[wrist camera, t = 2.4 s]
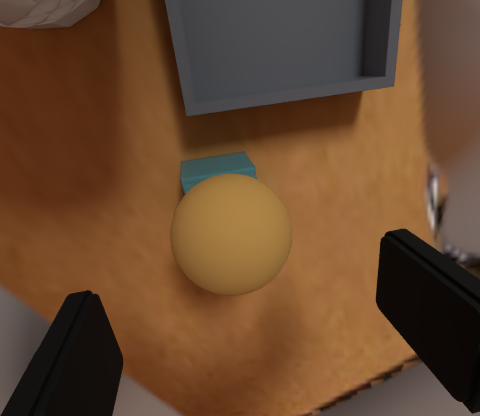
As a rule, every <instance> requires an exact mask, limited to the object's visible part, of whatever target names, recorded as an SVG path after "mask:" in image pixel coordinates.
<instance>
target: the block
mask: <svg viewBox="0 0 480 416" xmlns="http://www.w3.org/2000/svg"><path fill="white" fill-rule="evenodd" d="M221 174H242V175H246V176H250V177H253V178H255V179H257V177H256V170H255V166H254V164H253V163H252V162H251V160H250V159H249V158H248V156H247V155H246V154H245V152H239V153H232V154H226V155H220V156H214V157H207V158H201V159H195V160H189V161H182V162H181V183H182V188H183V192H184V196H185V195H186V193H187V192H188V191H189V190H190V189H192V188H193V187H194V186H195V185H197V184H198V183H200V182H202V181H204V180H205V179H208V178H210V177H213V176H217V175H221Z"/></svg>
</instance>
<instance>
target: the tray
mask: <svg viewBox="0 0 480 416" xmlns="http://www.w3.org/2000/svg"><path fill="white" fill-rule="evenodd" d="M165 4H166V9H167V15H168V20H169V25H170V31H171V36H172V41H173V47H174V52H175V57H176V63H177V68H178V74H179V79H180V84H181V90H182V95H183V100H184V106H185V111H186V116H193V115H200V114H207V113H214V112H221V111H227V110H234V109H241V108H248V107H255V106H262V105H269V104H276V103H283V102H290V101H297V100H303V99H310V98H317V97H324V96H331V95H338V94H345V93H352V92H359V91H366V90H372V89H379V88H386V87H393V86H394V82H395V71H396V61H397V51H398V40H399V30H400V20H401V9H402V0H165Z"/></svg>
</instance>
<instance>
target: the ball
mask: <svg viewBox="0 0 480 416" xmlns="http://www.w3.org/2000/svg"><path fill="white" fill-rule="evenodd" d="M170 234H171V246H172V250H173V253H174V256H175V259H176V261H177V263H178V265H179V267H180V268H181V270H182V271H183V272H184V274H185V275H186V276H187V277H188V278H189V279H190V280H191V281H192V282H194V283H195V284H196V285H197V286H199V287H201V288H202V289H205V290H207V291H209V292H212V293H215V294H219V295H227V296H234V295H242V294H247V293H250V292H253V291H255V290H257V289H259V288H261V287H263V286H265V285H266V284H268V283H269V282H270V281H271V280H272V279H273V278H274V277H275V276H276V275H277V274H278V273H279V272H280V270H281V269H282V267H283V266H284V264H285V262H286V260H287V258H288V255H289V252H290V248H291V243H292V226H291V221H290V217H289V214H288V211H287V209H286V207H285V205H284V203H283V202H282V200H281V199H280V197H279V196H278V195H277V194H276V193H275V192H274V191H273V190H272V189H271V188H270V187H269V186H268V185H266V184H265V183H263V182H261V181H259V180H257V179H255V178H253V177H250V176H246V175H242V174H221V175H217V176H213V177H210V178H208V179H205V180H204V181H202V182H200V183H198V184H197V185H195V186H194V187H193V188H192V189H190V190H189V191H188V192H187V193H186V195H185V196H184V197H183V198H182V200H181V201H180V203H179V204H178V206H177V208H176V210H175V213H174V216H173V219H172V223H171V230H170Z"/></svg>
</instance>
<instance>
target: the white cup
mask: <svg viewBox="0 0 480 416" xmlns="http://www.w3.org/2000/svg"><path fill="white" fill-rule="evenodd" d="M100 1H101V0H0V27H12V28H28V29H47V28H65V27H71V26H72V25H73V24H75V23H76V22H78V21H79V20H81V19H82V18H84V17H85V16H87V15H88V14H90V13H91V12H93V11H94V10H96V9H97V8H98V6H99V4H100Z"/></svg>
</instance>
